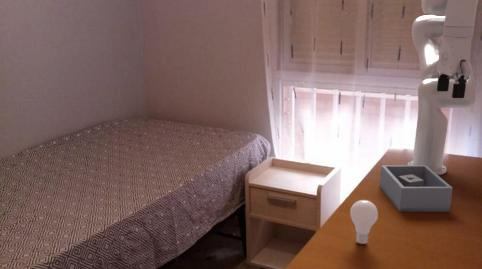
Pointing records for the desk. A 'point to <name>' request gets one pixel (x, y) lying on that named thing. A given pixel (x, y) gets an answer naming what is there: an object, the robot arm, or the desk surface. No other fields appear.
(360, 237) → the lightbulb
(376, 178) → the desk surface
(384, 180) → the box
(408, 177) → the dice cube
